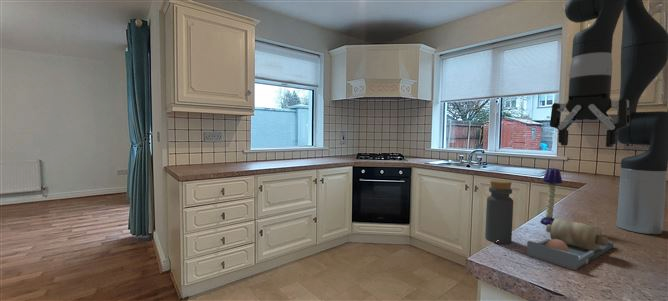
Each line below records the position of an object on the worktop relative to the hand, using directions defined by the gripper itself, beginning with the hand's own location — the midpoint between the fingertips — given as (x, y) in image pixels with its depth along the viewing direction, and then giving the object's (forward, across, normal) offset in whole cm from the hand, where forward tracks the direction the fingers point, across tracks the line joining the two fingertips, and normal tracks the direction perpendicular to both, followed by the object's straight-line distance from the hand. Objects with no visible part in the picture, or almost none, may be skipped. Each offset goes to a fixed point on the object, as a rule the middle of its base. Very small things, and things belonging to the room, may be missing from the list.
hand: (585, 146), depth 72 cm
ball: (+23, 0, +15) cm, 27 cm away
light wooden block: (+24, 0, -5) cm, 25 cm away
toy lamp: (+24, +12, -15) cm, 31 cm away
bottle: (+24, +13, +12) cm, 30 cm away
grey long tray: (+24, 0, +4) cm, 25 cm away
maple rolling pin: (+24, 0, +3) cm, 24 cm away
